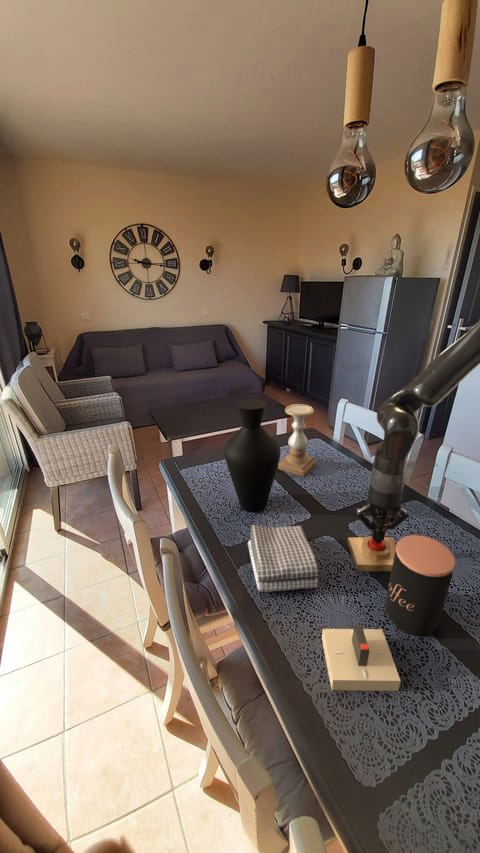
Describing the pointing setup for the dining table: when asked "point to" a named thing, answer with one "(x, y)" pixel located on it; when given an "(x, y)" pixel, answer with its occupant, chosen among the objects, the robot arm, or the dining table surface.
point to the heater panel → (345, 666)
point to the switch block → (371, 554)
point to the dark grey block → (360, 646)
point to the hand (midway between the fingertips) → (377, 540)
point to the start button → (376, 545)
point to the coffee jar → (419, 584)
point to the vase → (252, 457)
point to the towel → (282, 559)
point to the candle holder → (298, 443)
